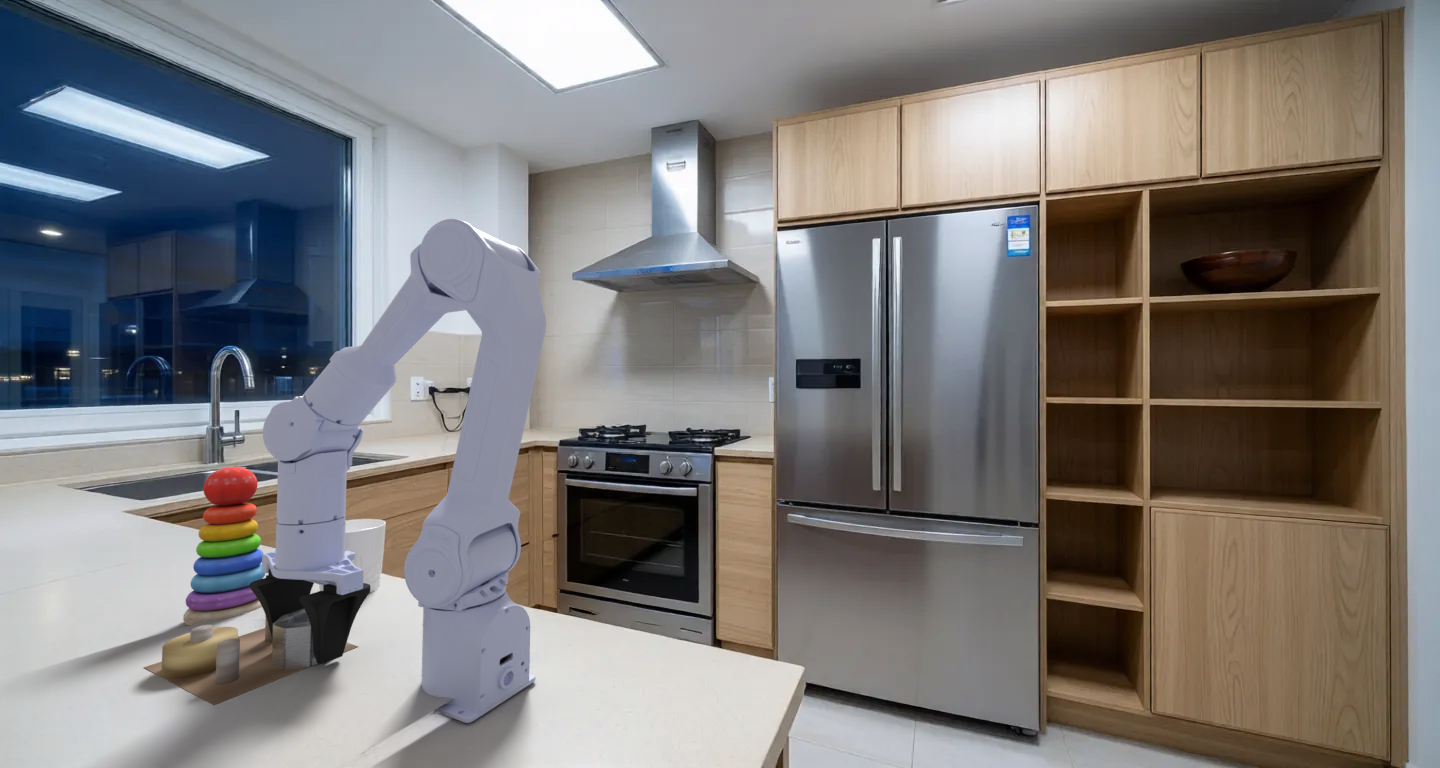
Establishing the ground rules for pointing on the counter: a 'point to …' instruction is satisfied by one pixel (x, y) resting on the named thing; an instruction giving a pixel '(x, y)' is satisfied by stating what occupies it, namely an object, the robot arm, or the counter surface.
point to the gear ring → (293, 641)
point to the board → (247, 670)
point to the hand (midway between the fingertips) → (308, 651)
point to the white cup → (366, 548)
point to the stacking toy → (226, 550)
